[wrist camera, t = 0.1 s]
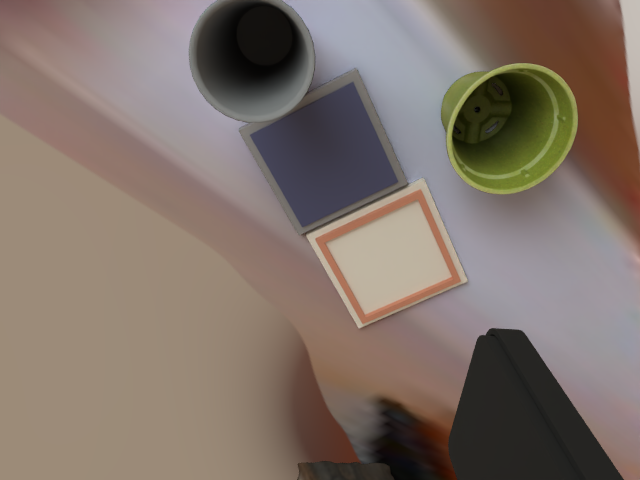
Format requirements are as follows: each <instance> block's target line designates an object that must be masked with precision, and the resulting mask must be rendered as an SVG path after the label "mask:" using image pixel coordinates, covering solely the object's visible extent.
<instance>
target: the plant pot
mask: <svg viewBox="0 0 640 480" xmlns="http://www.w3.org/2000/svg"><path fill="white" fill-rule="evenodd" d="M492 83H496V84H497V86H498V87H499V88H501V89H502V92H503V94H502V96H500V95H499V93H498V92H497V90H496V89H495V88H494V87H493V86H492ZM475 107H479V108H480V111H479V112H477V113H476V112H475V111H474V109H475ZM441 120H442V123H443V126H444V128H445V130H446V133H447V134H446V146H447V152H448V156H449V159H450V162H451V164H452V166H453V168H454V170H455V171H456V172H457V174H458V175H459V176H460V177H461V178H462V179H463V180H464V181H465V182H466V183H467V184H469V185H470V186H472V187H474V188H475V189H478V190H480V191H483V192H486V193H491V194H512V193H517V192H521V191H524V190H527V189H529V188H531V187H533V186H535V185H537V184H539V183H540V182H542V181H543V180H545V179H546V178H547V177H549V176H550V175H551V174H552V173H553V172H554V171H555V170H556V169H557V168H558V167H559V166H560V164H561V163H562V162H563V160H564V159H565V157H566V156H567V154H568V152H569V150H570V149H571V147H572V144H573V141H574V139H575V135H576V131H577V126H578V113H577V105H576V101H575V98H574V95H573V93H572V91H571V89H570V88H569V86H568V85H567V84H566V82H565V81H564V80H563V79H562V78H561V77H560V76H559V75H558V74H556V73H555V72H553V71H551V70H550V69H548V68H546V67H543V66H539V65H535V64H529V63H517V64H510V65H505V66H502V67H499V68H497V69H494V70H492V71H490V72H474V73H470V74H467V75H465V76H463V77H461V78H460V79H458V80H457V81H456V82H455V83H454V84H453V85H452V86H451V87H450V88H449V89H448V91H447V93H446V94H445V96H444V99H443V102H442V108H441ZM497 121H498V124H497V126H496V127H495V128H494V129H493V130H492V131H491V132H489V133H486V132H485V131H486V130H487V129H489V128H490V127H491V126H492V125H494V123H496V122H497ZM454 125H455V126H456V128H457V129H458V130H459V131H461V133H459V134H457V133H456V132H455V131H454V130H453V127H454Z"/></svg>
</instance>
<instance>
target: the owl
mask: <svg viewBox="0 0 640 480" xmlns="http://www.w3.org/2000/svg"><path fill="white" fill-rule="evenodd" d="M298 467H299V477H298V479H297V480H394V478H393V476H392V475H391V472H390V467H389V466H388V465H386V464H382V463H369V464H360V463H357V462H353V463H333V462H329V461H322V462H315V463H298Z"/></svg>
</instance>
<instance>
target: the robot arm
mask: <svg viewBox="0 0 640 480" xmlns="http://www.w3.org/2000/svg"><path fill="white" fill-rule="evenodd" d="M448 447H449V455H450V459H451V462H452V465H453V468H454V471H455V474H456V477H457V480H624V479H623V478H622V476H621V475H620V473H619V472H618V470H617V469H616V468H615V466H614V465H613V463H612V462H611V460H610V459H609V457H608V456H607V454H606V453H605V451H604V450H603V448H602V447H601V445H600V444H599V442H598V441H597V439H596V438H595V437H594V435H593V434H592V432H591V431H590V429H589V428H588V426H587V425H586V423H585V422H584V420H583V419H582V417H581V416H580V414H579V413H578V411H577V410H576V408H575V407H574V406H573V404H572V403H571V401H570V400H569V398H568V397H567V395H566V394H565V392H564V391H563V389H562V388H561V386H560V385H559V383H558V382H557V380H556V379H555V377H554V376H553V375H552V373H551V372H550V370H549V369H548V367H547V366H546V364H545V363H544V361H543V360H542V358H541V357H540V355H539V354H538V352H537V351H536V349H535V348H534V346H533V345H532V343H531V342H530V341H529V339H528V338H527V336H526V335H525V333H524V332H523V331H521V330H513V329H496V328H492V329H489V331H488V332H487V334H486V335H481V336H479V338H478V339H477V342H476V345H475V349H474V352H473V356H472V359H471V363H470V366H469V370H468V373H467V377H466V380H465V384H464V387H463V391H462V394H461V398H460V401H459V405H458V408H457V412H456V415H455V419H454V422H453V426H452V429H451V433H450V436H449V443H448Z"/></svg>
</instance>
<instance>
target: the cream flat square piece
mask: <svg viewBox="0 0 640 480" xmlns="http://www.w3.org/2000/svg"><path fill="white" fill-rule="evenodd" d="M306 237H307V238H308V240H309V242H310V244H311V245H312V247H313V249H314V251H315V252H316V254H317V256H318V258H319V259H320V261H321V263H322V265H323V266H324V268H325V270H326V272H327V273H328V275H329V277H330V279H331V280H332V282H333V284H334V286H335V287H336V289H337V291H338V293H339V294H340V296H341V298H342V300H343V301H344V303H345V305H346V307H347V309H348V310H349V312H350V314H351V316H352V317H353V319H354V321H355V323H356V324H357V326H358V328H361V327H363V326H366V325H368V324H370V323H373V322H375V321H377V320H380V319H382V318H384V317H387V316H389V315H391V314H393V313H396V312H398V311H400V310H403V309H405V308H407V307H410V306H412V305H414V304H417V303H419V302H421V301H423V300H426V299H428V298H430V297H433V296H435V295H437V294H440V293H442V292H444V291H447V290H449V289H451V288H453V287H456V286H458V285H460V284H463V283H465V282H467V281H468V280H467V278H466V275H465V273H464V271H463V268H462V266H461V264H460V261H459V259H458V257H457V254H456V252H455V250H454V247H453V245H452V243H451V240H450V238H449V236H448V233H447V231H446V229H445V226H444V224H443V222H442V219H441V217H440V215H439V212H438V210H437V208H436V205H435V203H434V201H433V198H432V196H431V194H430V191H429V189H428V187H427V184H426V182H425V180H424V178H421V179H419V180H417V181H415V182H413V183H410V184H408V185H406V186H404V187H402V188H400V189H398V190H396V191H394V192H391V193H389V194H387V195H385V196H383V197H381V198H379V199H377V200H374V201H372V202H370V203H368V204H366V205H364V206H362V207H360V208H358V209H355V210H353V211H351V212H349V213H347V214H345V215H343V216H341V217H338V218H336V219H334V220H332V221H330V222H328V223H326V224H324V225H322V226H319V227H317V228H315V229H313V230H311V231H309V232H307V233H306Z"/></svg>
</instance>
